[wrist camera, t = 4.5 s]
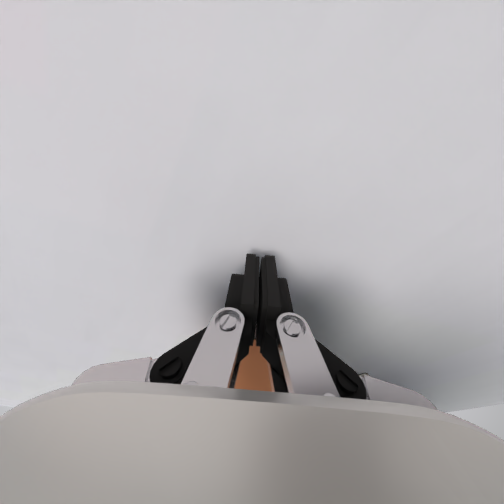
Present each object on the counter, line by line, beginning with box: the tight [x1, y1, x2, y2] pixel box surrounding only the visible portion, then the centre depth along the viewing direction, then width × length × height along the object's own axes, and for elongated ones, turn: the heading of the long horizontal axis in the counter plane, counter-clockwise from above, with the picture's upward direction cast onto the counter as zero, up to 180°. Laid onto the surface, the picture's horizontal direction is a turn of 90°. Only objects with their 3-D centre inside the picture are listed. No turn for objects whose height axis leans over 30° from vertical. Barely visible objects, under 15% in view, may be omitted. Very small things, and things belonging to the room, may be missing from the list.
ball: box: [235, 339, 272, 392], centre depth 15 cm, size 6×6×6 cm
